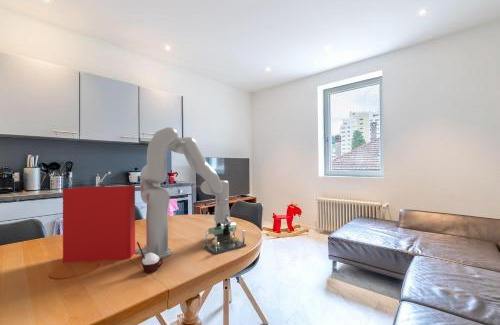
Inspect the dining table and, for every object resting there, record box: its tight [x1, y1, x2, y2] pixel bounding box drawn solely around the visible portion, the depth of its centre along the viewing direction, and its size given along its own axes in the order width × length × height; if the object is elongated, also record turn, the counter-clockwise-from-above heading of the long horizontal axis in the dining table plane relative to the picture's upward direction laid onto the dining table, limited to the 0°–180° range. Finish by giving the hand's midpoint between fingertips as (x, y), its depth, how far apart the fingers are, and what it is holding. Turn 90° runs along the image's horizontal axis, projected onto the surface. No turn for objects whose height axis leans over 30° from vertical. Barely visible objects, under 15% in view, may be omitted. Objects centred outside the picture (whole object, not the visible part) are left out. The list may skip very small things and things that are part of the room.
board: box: [207, 225, 237, 236], centre depth 131 cm, size 14×7×3 cm, turn 128°
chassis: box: [203, 226, 247, 255], centre depth 117 cm, size 18×11×8 cm, turn 128°
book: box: [62, 185, 136, 263], centre depth 105 cm, size 27×8×32 cm, turn 97°
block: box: [214, 232, 231, 242], centre depth 131 cm, size 8×4×4 cm, turn 128°
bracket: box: [214, 220, 238, 230], centre depth 149 cm, size 13×7×8 cm, turn 102°
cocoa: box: [136, 241, 164, 274], centre depth 92 cm, size 10×6×12 cm, turn 101°
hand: (222, 233), depth 131 cm, fingers closed on board, 7 cm apart
